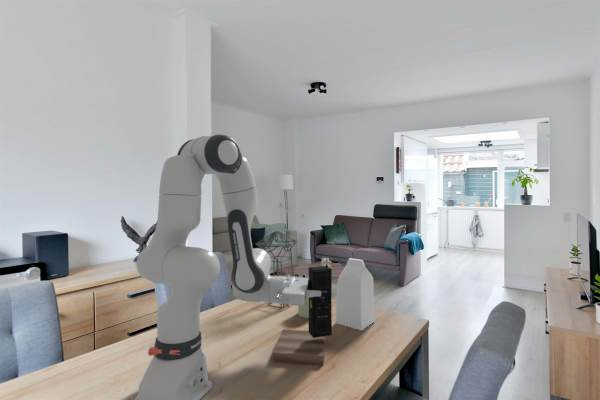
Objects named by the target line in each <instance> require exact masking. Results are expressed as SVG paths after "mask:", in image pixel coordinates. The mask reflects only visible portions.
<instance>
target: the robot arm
mask: <svg viewBox="0 0 600 400" xmlns="http://www.w3.org/2000/svg"><path fill="white" fill-rule="evenodd" d="M162 166H163V167H162V169H161V170H162V172H161V175H160V182H159V191H158V206H157V207H158V208H157V209H158V211H157V220H156V226H155V229H154V232H153V234H152V237H151V240H150V241H149V243H148V245H147V246H146V247H145V248H143V249H142V250H141V251H140V253H139V255H138V256H137V259H136V269H137V273H138V274H139V275H140V277H142V278H144V279H146V280H147V281H150V282H151V283H154V284H160V285H166V286H169V287H170V289H169V290H170V291H169V292H170V293H169V296H168V299H167V300H166V301H164V302H162V303H161V305H159V307H158V308H157V311H156V328H157V329H156V330H157V331H156V338H155V342H154V345H153V346H151V347H149V348H148V351H147V354H148V356H150V357H151V356H152V359H151V361H150V362H149V364H148V366H147V368H146V370H145V373H144V375H143V376H142V378H141V381H140V383H139V386H138V390H137V395H136V397H135V398H134V399H133V400H201V399H202V398H203V397H204V396H205V395H207V393H208V392H209V391H210V390H212V388H213V382H212V381H211V380H209V379H208V378H209V377H208V364H207V356H206V355H205V354H204V352H203V350H202V339H203V338H202V331H200V321H201V320H200V319H201V318H200V315H201V304H202V300H203V297H204V295H205V294H206V292H207V290H208V289H210V288H211V287H212V286H213V285H214V284H215V283H216V282H217V280H218V278H219V276H220V273H221V263H220V260H219V257H218V256H217V254H216V253H214V252H213V251H210V250H207V249H204V248H202V247H196V246H194V247H193V246H186V245H187V240H188V238H189V235H190V234H191V232H192V231H194V230H196V228H198V227H199V225H200V223H201V213H202V182H203V178H204V176H205V175H215V176H216V178H217V179H218V181H219V187H220V191H221V195H222V200H223V204H224V208H225V209H224V211H225V214H226V221H227V229H228V236H229V237H228V239H229V242H230V250H231V255H232V269H231V270H232V271H231V275H230V276H231V277H230V279H231V284H232V285H231V289H232V290H231V291H232V294H233V296H234V297H235V299H237V300H239V301H244V302H249V303H262V302H266V303H268V302H269V303H271V304H279V303H281V304H280V305H283V304H284V305H287V304H288V305H287V306H289V305H290V306H297V307H298V306H301V305H304V303H305V301H306V298H307V297H308V298H310V297H315V296H318V297H320V296H321V290H307V288H308V279H309V277H308V278H307V277H300V276H294V277H292V276H290V274H283V276H282V275H279V276H277V275H274V276H273V275H271V274H270V271H271V268H272V267H271V266H272V262H271V261H272V258H271V257H272V256H271V255H270V253H269V252H267V251H268V250H266V251H265V250H263V248H262V249H261V248H259V247H253V242H252V236H251V229H252V224H253V219H254V217H255V215H256V213H257V210H258V208H259V195H258V190H257V189H258V188H257V185H256V180H255V176H254V172H253V171H252V168H251V165H250V163H249V161H248V159H247V158H246V157H245V156H243V155H242V152H241V149H240V147H239V145H238V142H237V141H236V140H235V139H234V138H233V137H231V136H229V135H226V134H215V135H207V136H206V135H203V136H198V137H196V138H193V139H190V140H187V141H186V142H184V143H183V144H182V145H181V146H180V148H179V149H178V151H177V154H176V155H173V156H170V157H169V158H167V159H166V160H165V161H164V163H163V165H162Z"/></svg>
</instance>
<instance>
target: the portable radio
mask: <svg viewBox="0 0 600 400" xmlns="http://www.w3.org/2000/svg"><path fill="white" fill-rule="evenodd" d="M325 261H326V262H325V263H326V264H325V265H324V266H323V265H321V266H309V267H308V288H307V290H321V296H320V297H318V296H315V297H310V298H309V318H308V331H309V333H310V334H311V336H312V337H313V338H316V337H323V336H326V337H329V336H332V335H333V334H332V333H333V332H332V331H333V330H332V329H333V327H332V315H333V314H332V310H333V309H332V307H333V306H332V295H333V294H332V290H333V289H332V279H333V278H332V274H333V272H332V268H331V267H329V264H328V260H325Z"/></svg>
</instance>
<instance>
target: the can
mask: <svg viewBox="0 0 600 400" xmlns="http://www.w3.org/2000/svg"><path fill="white" fill-rule="evenodd" d="M297 307H298V309H297V310H298V311H297V314H298V316H299V317H302V318H304V319H305V318H306V319H309V298H308V297H307V298H306V301H305V303H304V305H301V306H297Z"/></svg>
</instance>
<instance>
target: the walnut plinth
mask: <svg viewBox="0 0 600 400" xmlns="http://www.w3.org/2000/svg"><path fill="white" fill-rule="evenodd" d="M326 345H327V336H323V337H316V338H313V337H312V336H311V334H310V333H309V330H297V329H282V330H281V332H280V335H279V337H278V339H277V342H276V344H275V346H274V349H273V351H272V363H280V364H296V365H298V364H301V365H313V366H324V362H325V353H326Z"/></svg>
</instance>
